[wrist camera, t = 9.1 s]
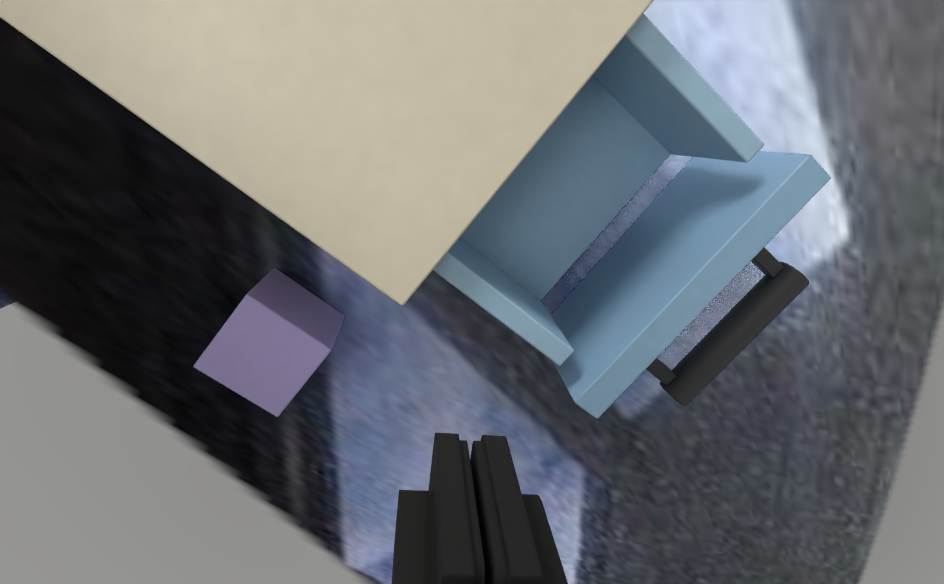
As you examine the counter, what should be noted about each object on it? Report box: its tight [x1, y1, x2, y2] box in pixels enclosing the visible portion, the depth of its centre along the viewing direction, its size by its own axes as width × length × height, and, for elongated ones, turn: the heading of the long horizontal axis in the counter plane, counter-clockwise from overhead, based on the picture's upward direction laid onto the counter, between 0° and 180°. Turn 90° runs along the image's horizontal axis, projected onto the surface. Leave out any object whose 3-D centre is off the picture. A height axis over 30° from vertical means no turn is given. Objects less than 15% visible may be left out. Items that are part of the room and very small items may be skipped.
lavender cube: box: [194, 268, 345, 417], centre depth 23 cm, size 4×4×4 cm
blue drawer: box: [433, 14, 831, 419], centre depth 20 cm, size 18×11×7 cm, turn 50°
